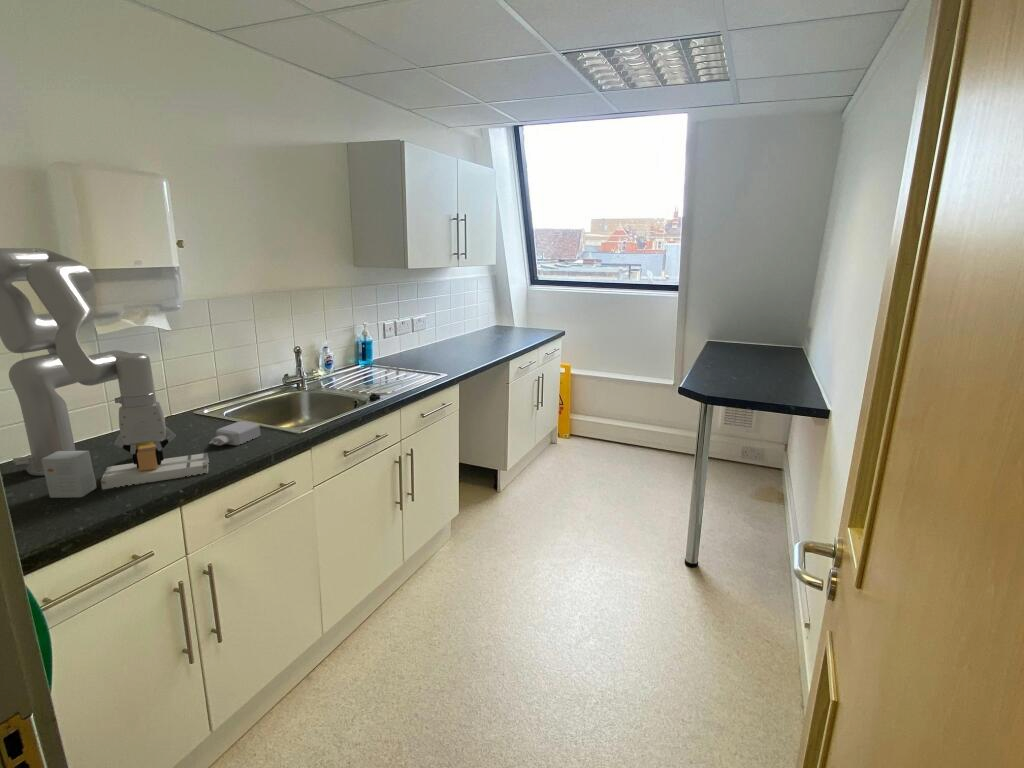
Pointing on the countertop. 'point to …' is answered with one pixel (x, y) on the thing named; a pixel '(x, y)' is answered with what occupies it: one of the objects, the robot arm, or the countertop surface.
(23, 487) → the countertop surface
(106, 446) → the countertop surface
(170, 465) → the fader panel
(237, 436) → the grey bottle
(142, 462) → the fader knob
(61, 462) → the small box
